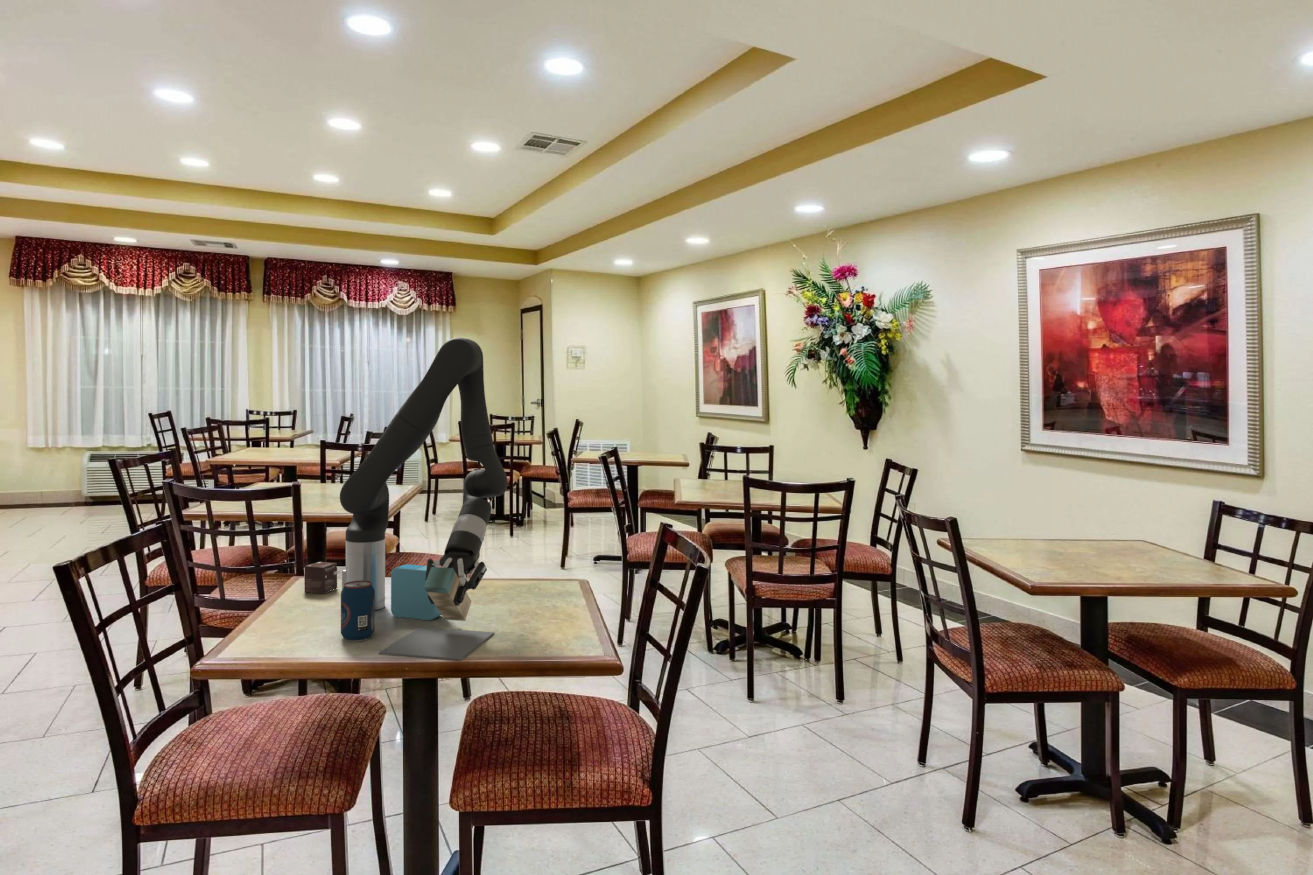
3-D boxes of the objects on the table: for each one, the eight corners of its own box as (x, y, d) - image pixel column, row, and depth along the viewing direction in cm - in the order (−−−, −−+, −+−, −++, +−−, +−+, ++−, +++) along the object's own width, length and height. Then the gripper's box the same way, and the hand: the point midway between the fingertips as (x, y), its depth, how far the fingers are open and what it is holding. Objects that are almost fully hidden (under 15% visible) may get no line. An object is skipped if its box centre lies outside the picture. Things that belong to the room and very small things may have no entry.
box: (323, 594, 203) (323, 567, 203) (303, 593, 204) (303, 565, 204) (337, 589, 209) (337, 562, 209) (318, 587, 210) (318, 561, 210)
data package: (444, 616, 186) (444, 567, 185) (434, 621, 181) (434, 571, 181) (401, 611, 189) (401, 563, 188) (390, 616, 185) (390, 567, 184)
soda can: (336, 636, 169) (336, 582, 168) (369, 630, 173) (369, 578, 172) (345, 644, 163) (345, 588, 163) (378, 638, 168) (378, 584, 167)
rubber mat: (378, 654, 158) (378, 652, 158) (419, 628, 176) (419, 626, 175) (461, 660, 155) (461, 658, 155) (494, 633, 173) (494, 632, 173)
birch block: (444, 619, 173) (423, 586, 163) (451, 599, 176) (431, 566, 166) (465, 620, 172) (445, 588, 162) (471, 601, 176) (453, 568, 165)
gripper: (432, 527, 176) (407, 592, 165) (491, 530, 174) (470, 596, 163) (442, 546, 182) (418, 609, 171) (500, 549, 180) (479, 613, 168)
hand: (444, 602), depth 167 cm, fingers closed on birch block, 5 cm apart
